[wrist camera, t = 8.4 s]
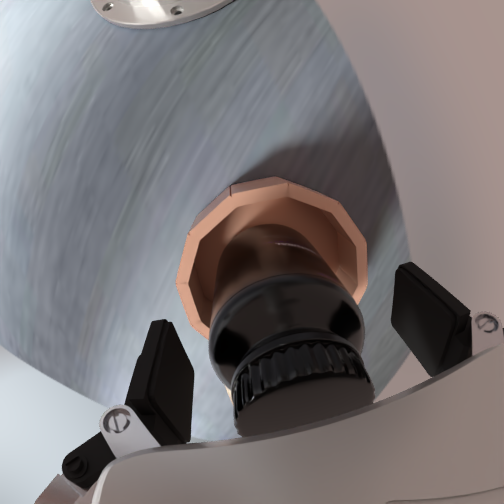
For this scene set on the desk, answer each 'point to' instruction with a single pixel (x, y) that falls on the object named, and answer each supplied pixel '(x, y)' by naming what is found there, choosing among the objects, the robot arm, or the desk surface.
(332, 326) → the supplement bottle
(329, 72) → the desk surface
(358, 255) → the bowl
